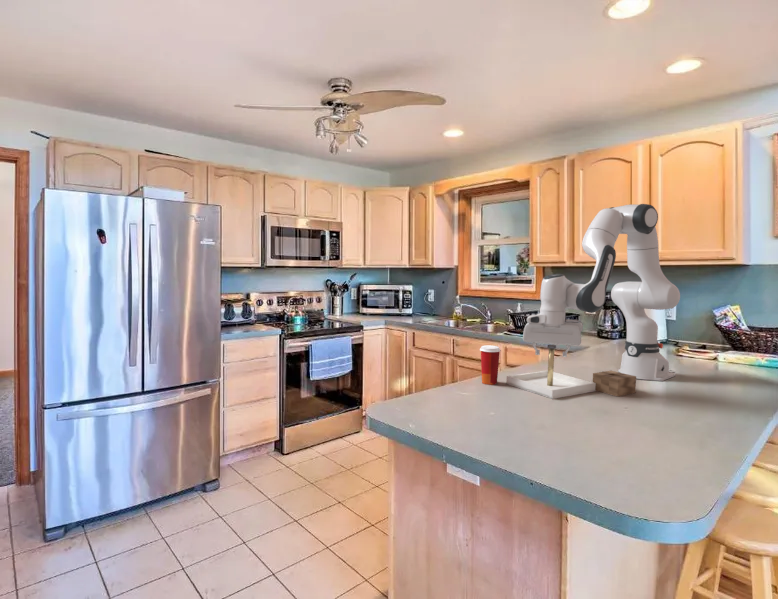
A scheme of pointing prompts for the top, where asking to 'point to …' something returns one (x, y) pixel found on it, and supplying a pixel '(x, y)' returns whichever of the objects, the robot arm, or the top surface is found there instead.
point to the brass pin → (550, 364)
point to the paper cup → (489, 364)
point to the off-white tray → (560, 388)
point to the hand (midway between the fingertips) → (550, 355)
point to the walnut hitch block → (614, 383)
